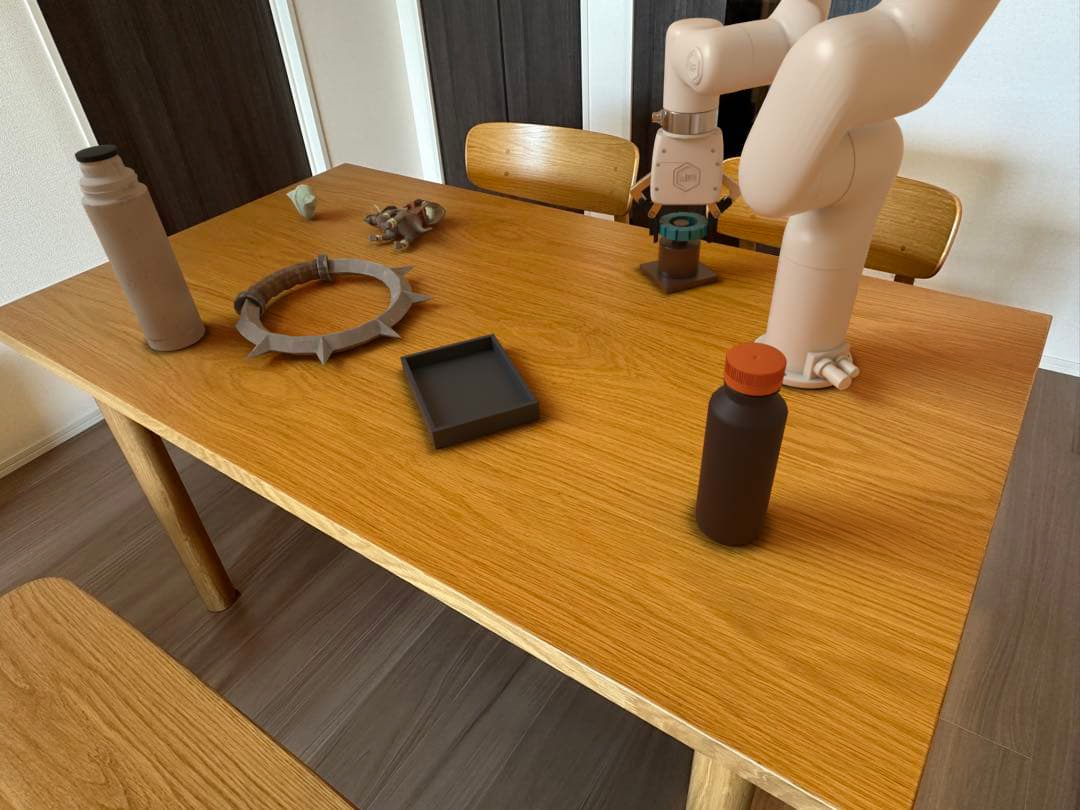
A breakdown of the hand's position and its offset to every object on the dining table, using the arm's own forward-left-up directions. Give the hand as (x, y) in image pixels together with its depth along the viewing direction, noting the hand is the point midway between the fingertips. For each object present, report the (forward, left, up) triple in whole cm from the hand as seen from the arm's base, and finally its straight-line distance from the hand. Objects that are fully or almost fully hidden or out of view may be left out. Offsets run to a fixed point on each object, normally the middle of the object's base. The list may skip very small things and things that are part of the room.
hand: (682, 238), depth 107 cm
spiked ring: (+13, +53, -7) cm, 55 cm away
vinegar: (-47, +22, -7) cm, 53 cm away
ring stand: (+1, 0, -7) cm, 6 cm away
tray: (-15, +40, -6) cm, 43 cm away
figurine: (+39, +35, -7) cm, 53 cm away
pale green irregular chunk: (+55, +52, -7) cm, 76 cm away
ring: (0, 0, +2) cm, 2 cm away
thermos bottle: (+18, +76, -7) cm, 78 cm away
